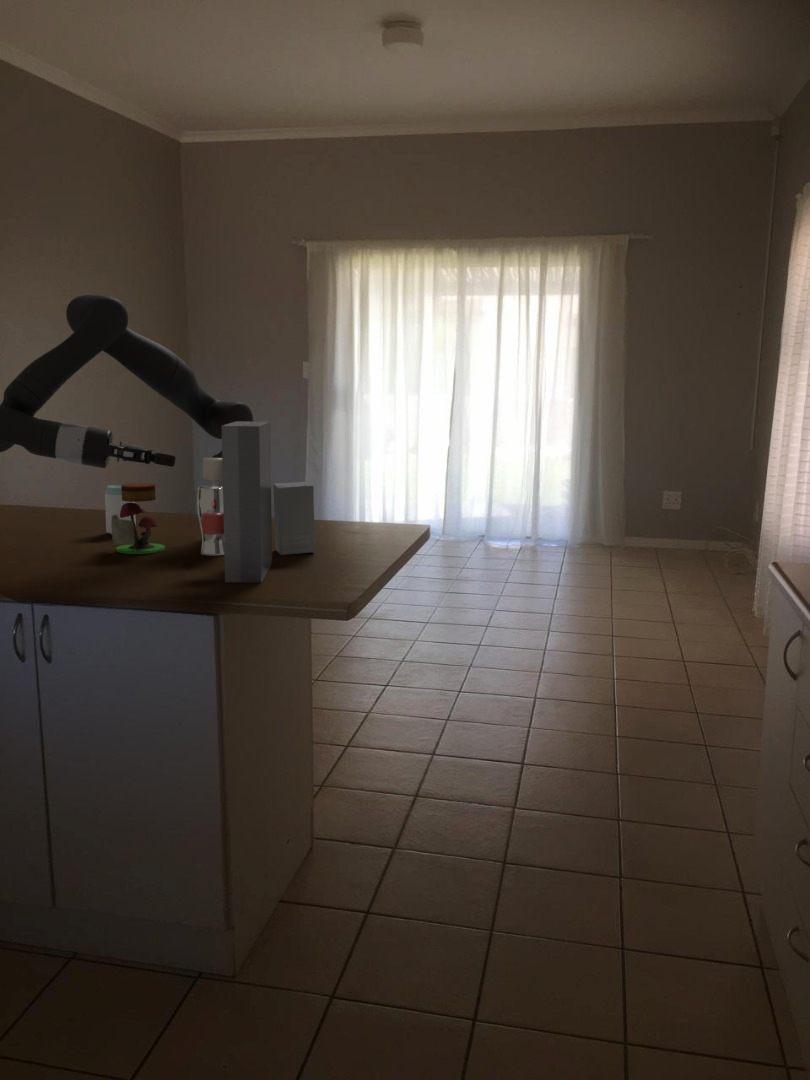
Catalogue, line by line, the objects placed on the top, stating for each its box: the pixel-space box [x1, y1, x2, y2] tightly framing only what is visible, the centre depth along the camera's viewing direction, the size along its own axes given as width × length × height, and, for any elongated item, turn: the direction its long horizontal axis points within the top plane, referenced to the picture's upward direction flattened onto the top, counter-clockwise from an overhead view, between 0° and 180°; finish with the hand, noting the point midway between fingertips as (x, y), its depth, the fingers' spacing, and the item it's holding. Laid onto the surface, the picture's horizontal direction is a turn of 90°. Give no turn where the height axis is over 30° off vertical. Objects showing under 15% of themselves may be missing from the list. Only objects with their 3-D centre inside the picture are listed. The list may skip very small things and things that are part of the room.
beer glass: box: [196, 484, 224, 557], centre depth 198 cm, size 7×7×15 cm
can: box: [104, 484, 137, 536], centre depth 221 cm, size 7×7×12 cm
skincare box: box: [273, 481, 316, 556], centre depth 200 cm, size 8×7×16 cm
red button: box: [201, 513, 224, 535], centre depth 178 cm, size 5×4×4 cm
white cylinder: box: [201, 457, 223, 481], centre depth 176 cm, size 5×4×4 cm
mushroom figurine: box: [111, 482, 166, 555], centre depth 200 cm, size 12×13×15 cm
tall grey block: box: [221, 421, 273, 584], centre depth 177 cm, size 7×18×30 cm, turn 2°
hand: (174, 461), depth 175 cm, fingers closed
